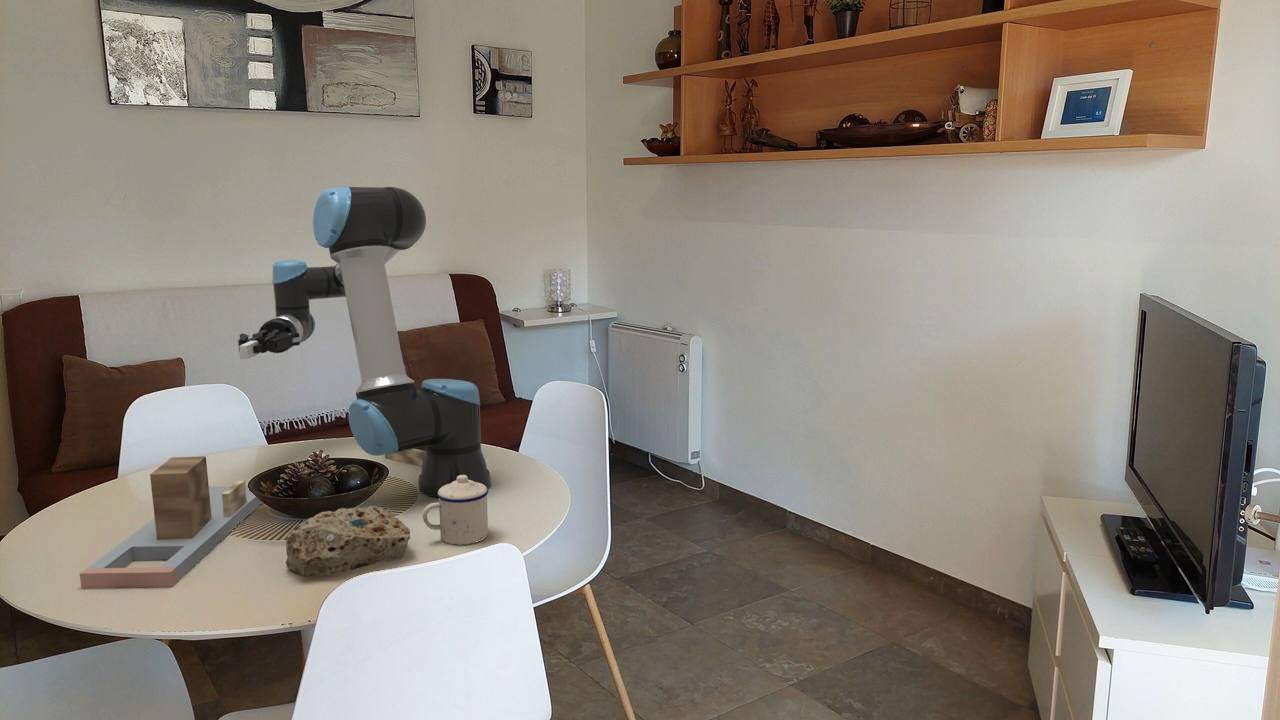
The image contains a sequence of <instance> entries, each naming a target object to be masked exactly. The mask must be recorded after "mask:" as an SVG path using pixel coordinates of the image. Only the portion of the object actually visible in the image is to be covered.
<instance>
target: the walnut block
mask: <svg viewBox="0 0 1280 720" xmlns="http://www.w3.org/2000/svg"><path fill="white" fill-rule="evenodd" d="M149 476H150V477H149V478H150V486H151V497H152V506H153V514H154V518H155V525H156V535H157V540H166V539H188V538H194V537H195V536H196V534H197V533H198V532H199V531H200V530H201V529H202V528H203V527H204V526H205V525H206V524H207V523H208V522H209V521H210V519H211V518H212V516H211V505H210V495H209V487H210V486H209V474H208V465H207V456H183V457H182V456H179V457H176V456H175V457H171V458H169V459H168V460H167V461H166V462H164V463H163V464H161V465H160V466H159V467H157V468H156V469H155V470H154V471H153V472H151V473H150V474H149Z"/></svg>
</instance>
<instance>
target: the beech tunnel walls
mask: <svg viewBox="0 0 1280 720" xmlns="http://www.w3.org/2000/svg"><path fill="white" fill-rule="evenodd" d="M230 486H231V487H230V488H229V489H227V490H226V491H225V492H224V493H222V503H223V513H224V517H231V516H232V515H233V514H234V513H235V512H236V511H238V510H239V509H240V508H241V507H242V506H243V505H244V504H245V503H247V499H246V487H245V486H246V480H237V481H236V482H235V483H234V484H233V485H230Z"/></svg>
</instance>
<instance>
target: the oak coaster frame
mask: <svg viewBox="0 0 1280 720" xmlns="http://www.w3.org/2000/svg"><path fill="white" fill-rule="evenodd" d="M424 457H425V451H423V450H418V449H410V450H406V451H401V452H397V453H395V454H385V455H384V459H387V460H392V461H397V462H399V463H406V464H410V465H414V466H418V467H422V465H423V461H424Z"/></svg>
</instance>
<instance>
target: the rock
mask: <svg viewBox="0 0 1280 720" xmlns="http://www.w3.org/2000/svg"><path fill="white" fill-rule="evenodd" d="M410 539H411V529H410V528H409V527H408V526H406V525H405V524H404V522H402V520H401V519H399V518H398V517H397V515H395V514H394V512H393V511H391V509H390V508H388V507H380V506H375V505H369V506H366V507H365V506H363V507H350V508H344V507H341V508H338V509H337V510H335V511H331V510H328V511H322V512H319V513H317V514H315V515H314V516H313V517H309V518H307V519H306V520H304V521H303V522H302V523H300V524H298V525H296V527H295V529H293V530H292V531H291V532H290V533H289V534H287V538H286V539H285V542H286V544H285V545H286V546H285V549H286V556H287V559H286V561H285V564H286V568H287V569H288V570H291V571H292V572H295V573H296V574H298V575H301V576H303V577H309V575H310V574H311V575H312V574H315V575H317V576H330V575H333V576H334V575H335V574H338V573H344V572H347V571H351V570H356V569H361V568H364V567H368V566H371V565H374V564H377V563H379V562H391V561H396V560H403V559H404V558H405V552H406V551H407V549H408V543H409V541H410Z"/></svg>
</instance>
